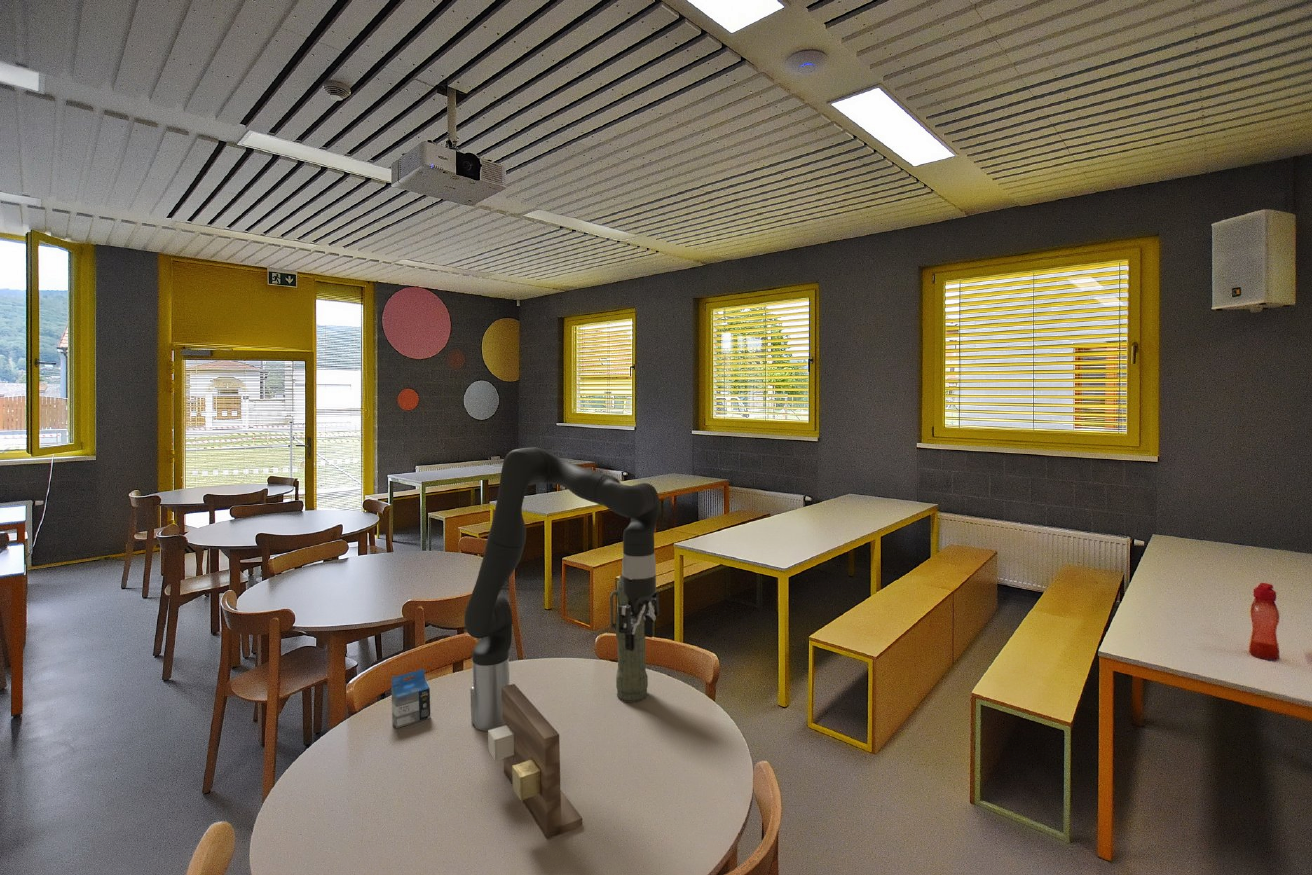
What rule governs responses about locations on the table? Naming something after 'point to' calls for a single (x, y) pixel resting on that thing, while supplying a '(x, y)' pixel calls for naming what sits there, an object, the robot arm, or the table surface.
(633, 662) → the thermos
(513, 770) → the yellow rectangular block
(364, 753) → the table surface
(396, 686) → the label tape cartridge
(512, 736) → the key white
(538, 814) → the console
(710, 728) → the table surface
